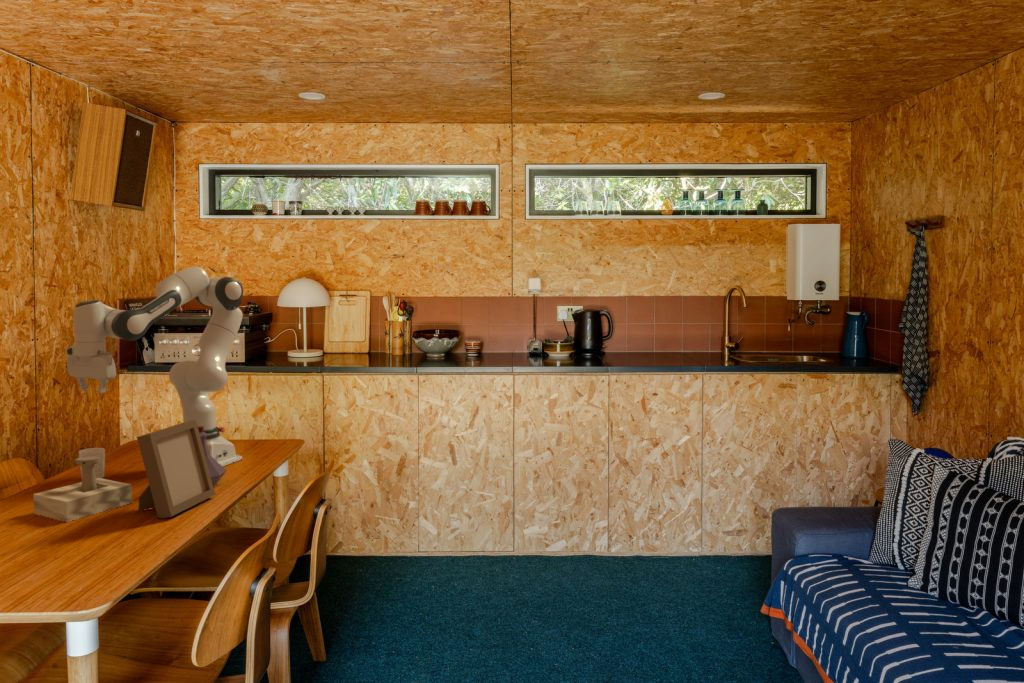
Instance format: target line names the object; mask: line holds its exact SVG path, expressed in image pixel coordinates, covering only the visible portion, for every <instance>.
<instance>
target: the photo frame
mask: <svg viewBox="0 0 1024 683" xmlns="http://www.w3.org/2000/svg"><path fill="white" fill-rule="evenodd" d="M136 440H137V444H138V447H139V450H140V455H141V459H142V462H143V465H144V469H145V473H146V477H147V481H148V484H147V487H146V488H145V489H144V490H143V491H142V493H141V494H140V495H139V496H138V510H143V511H145V510H144V509H148V510H150V509H149V508H153V509H155V511H156V514H157V518H158V517H159V518H162V519H165V518H166V519H167V518H171V517H173V516H176V515H177V514H179V513H181V512H184V511H185V510H187V509H189V508H192V507H194V506H196V505H197V504H199V503H201V502H203V501H205V500H208V499H210V498H212V497H214V496H215V495H216V492H215V488H214V486H213V484H212V480H211V476H210V472H209V468H208V465H207V461H206V457H205V453H204V449H203V445H202V441H201V438H200V434H199V430H198V426H197V422H196V420H193V421H188V422H184V423H183V422H181V423H179V424H174V425H171V426H169V427H165V428H162V429H159V430H155V431H152V432H149V433H146V434H143V435H139V436H137V437H136ZM154 507H155V508H154Z"/></svg>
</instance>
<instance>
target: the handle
mask: <svg viewBox="0 0 1024 683" xmlns="http://www.w3.org/2000/svg"><path fill="white" fill-rule="evenodd" d="M99 461H100V457H95V456H92V457H80V458H79V457H77V458H75V464H76V465H78V466H79V467H80V466H81V467H82V476H81V482H82V492H88V491H92V490H96V489H97V485H96V477H95V464H97V463H98V462H99Z"/></svg>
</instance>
